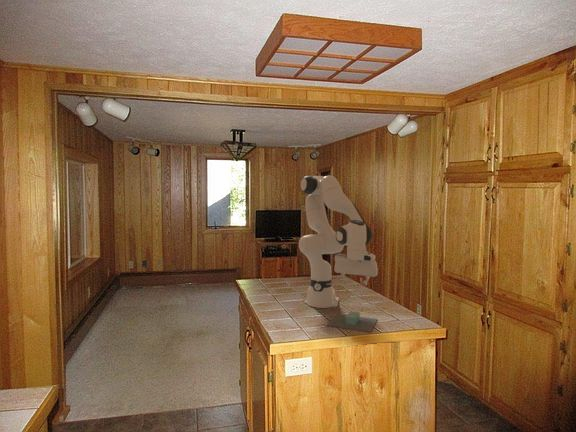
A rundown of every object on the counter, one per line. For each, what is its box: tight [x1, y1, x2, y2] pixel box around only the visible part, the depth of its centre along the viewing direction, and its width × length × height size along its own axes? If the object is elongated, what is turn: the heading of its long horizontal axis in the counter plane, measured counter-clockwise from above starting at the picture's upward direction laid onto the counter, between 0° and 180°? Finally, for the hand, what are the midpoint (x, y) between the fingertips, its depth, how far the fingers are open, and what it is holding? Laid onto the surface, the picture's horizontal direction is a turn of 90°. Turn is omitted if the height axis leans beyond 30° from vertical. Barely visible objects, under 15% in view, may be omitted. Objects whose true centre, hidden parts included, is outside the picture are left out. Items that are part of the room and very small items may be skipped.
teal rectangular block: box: [345, 311, 361, 325], centre depth 181 cm, size 4×9×4 cm, turn 157°
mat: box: [326, 313, 378, 333], centre depth 181 cm, size 18×20×1 cm
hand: (355, 283), depth 182 cm, fingers open, 8 cm apart
